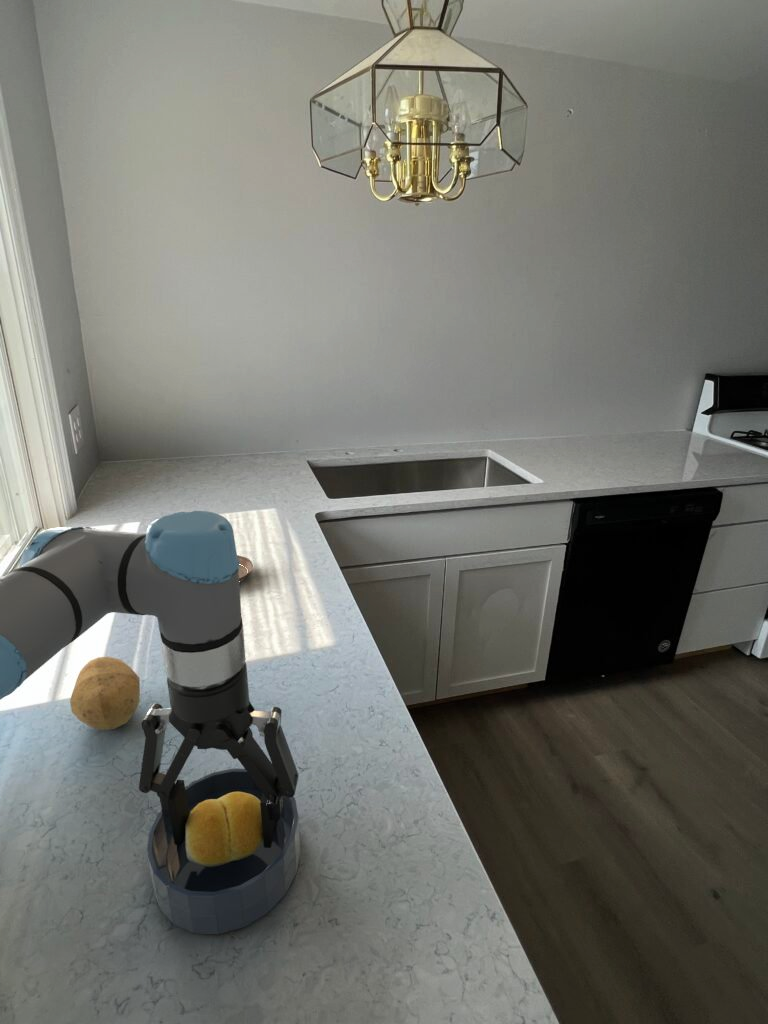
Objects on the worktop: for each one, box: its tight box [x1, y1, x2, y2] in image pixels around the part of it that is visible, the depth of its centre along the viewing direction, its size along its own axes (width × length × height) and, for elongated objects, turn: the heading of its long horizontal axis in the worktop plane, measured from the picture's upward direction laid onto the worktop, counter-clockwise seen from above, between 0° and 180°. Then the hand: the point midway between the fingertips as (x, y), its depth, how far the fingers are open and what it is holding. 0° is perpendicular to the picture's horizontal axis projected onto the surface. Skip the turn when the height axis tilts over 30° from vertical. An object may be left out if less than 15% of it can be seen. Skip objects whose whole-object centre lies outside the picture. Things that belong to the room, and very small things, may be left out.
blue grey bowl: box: [146, 767, 301, 935], centre depth 63 cm, size 16×16×6 cm
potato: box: [69, 656, 141, 731], centre depth 84 cm, size 10×14×8 cm
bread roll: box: [185, 792, 263, 867], centre depth 62 cm, size 8×9×4 cm
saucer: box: [237, 554, 254, 584], centre depth 129 cm, size 15×15×3 cm
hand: (226, 835), depth 62 cm, fingers closed on bread roll, 9 cm apart
